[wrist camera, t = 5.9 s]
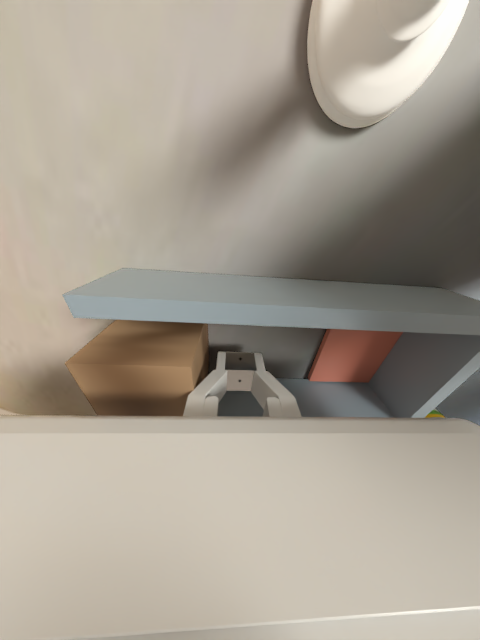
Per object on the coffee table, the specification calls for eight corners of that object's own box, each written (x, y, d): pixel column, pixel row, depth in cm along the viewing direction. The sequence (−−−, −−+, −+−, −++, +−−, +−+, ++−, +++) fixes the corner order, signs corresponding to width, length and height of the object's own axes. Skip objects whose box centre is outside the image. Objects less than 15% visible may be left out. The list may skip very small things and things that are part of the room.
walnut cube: (207, 311, 11) (191, 366, 7) (209, 364, 14) (197, 429, 10) (130, 307, 11) (64, 363, 7) (146, 362, 14) (106, 429, 9)
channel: (441, 287, 11) (534, 319, 8) (369, 387, 16) (406, 433, 13) (122, 268, 10) (62, 294, 6) (154, 383, 15) (131, 432, 11)
